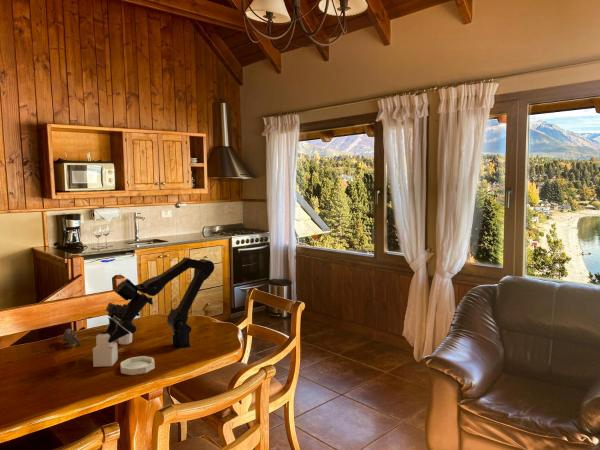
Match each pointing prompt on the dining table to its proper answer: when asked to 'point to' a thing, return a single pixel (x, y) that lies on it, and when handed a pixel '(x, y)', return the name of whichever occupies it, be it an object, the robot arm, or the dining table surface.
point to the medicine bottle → (104, 350)
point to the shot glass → (125, 339)
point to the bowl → (137, 365)
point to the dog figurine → (70, 337)
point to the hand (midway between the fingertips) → (106, 339)
